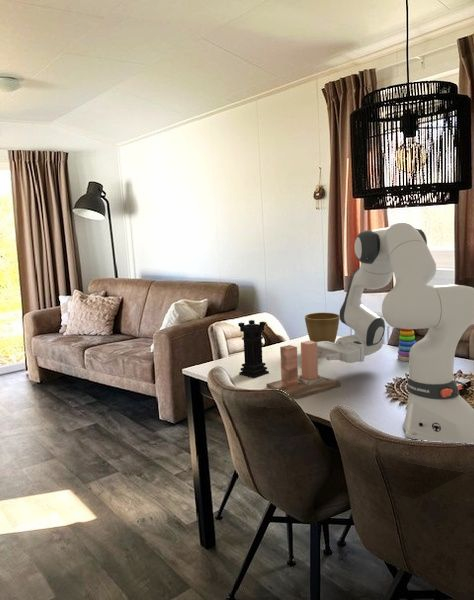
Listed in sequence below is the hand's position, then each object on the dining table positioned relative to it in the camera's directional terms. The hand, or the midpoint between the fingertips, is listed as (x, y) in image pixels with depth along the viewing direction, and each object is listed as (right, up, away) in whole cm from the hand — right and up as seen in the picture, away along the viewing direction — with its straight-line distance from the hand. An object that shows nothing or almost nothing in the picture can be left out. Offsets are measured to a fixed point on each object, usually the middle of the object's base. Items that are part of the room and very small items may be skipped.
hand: (318, 355), depth 184 cm
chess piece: (-22, -9, +15) cm, 28 cm away
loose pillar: (-3, -9, -1) cm, 10 cm away
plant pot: (+8, -3, +42) cm, 43 cm away
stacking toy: (+39, -4, +24) cm, 47 cm away
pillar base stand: (-6, -10, -3) cm, 12 cm away
